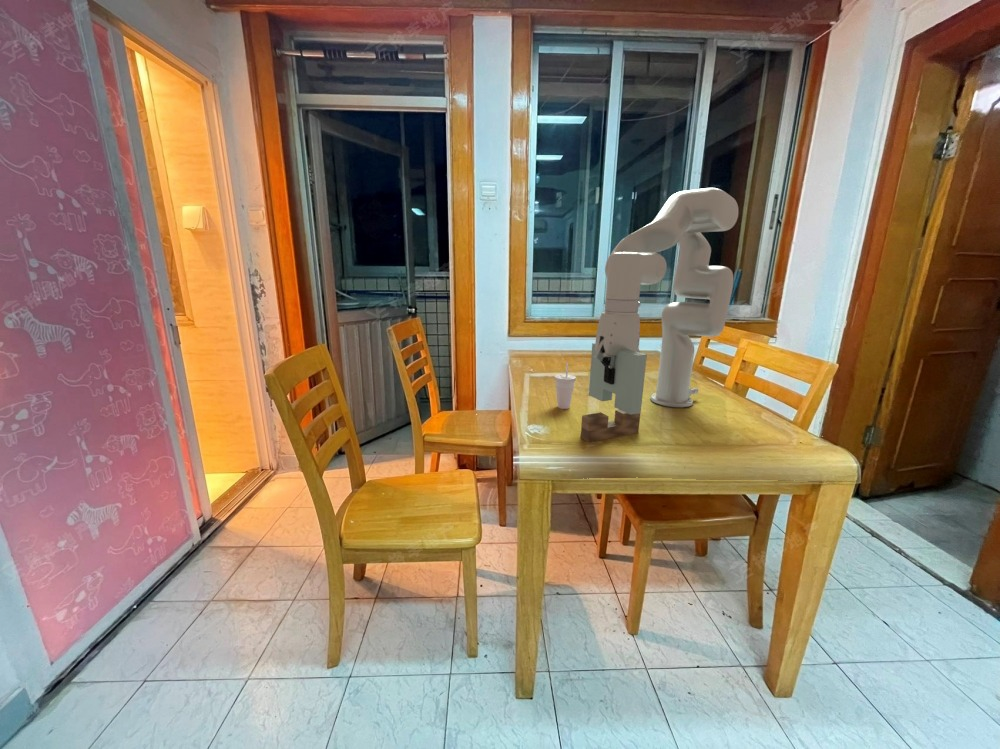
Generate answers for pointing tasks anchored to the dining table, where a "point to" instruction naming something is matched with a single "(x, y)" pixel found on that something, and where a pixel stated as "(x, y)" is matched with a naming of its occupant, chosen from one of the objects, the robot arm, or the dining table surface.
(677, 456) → the dining table surface
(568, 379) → the smoothie
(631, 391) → the cross plate
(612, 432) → the brown long block
